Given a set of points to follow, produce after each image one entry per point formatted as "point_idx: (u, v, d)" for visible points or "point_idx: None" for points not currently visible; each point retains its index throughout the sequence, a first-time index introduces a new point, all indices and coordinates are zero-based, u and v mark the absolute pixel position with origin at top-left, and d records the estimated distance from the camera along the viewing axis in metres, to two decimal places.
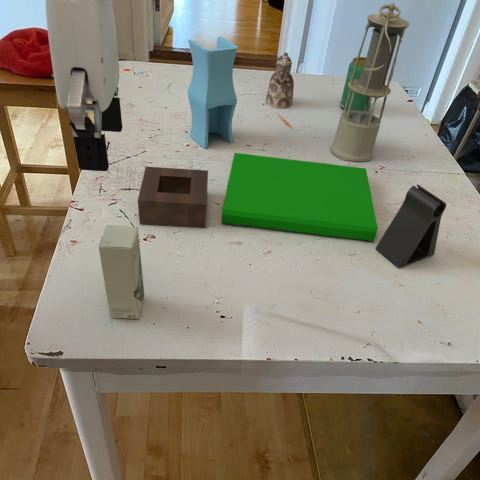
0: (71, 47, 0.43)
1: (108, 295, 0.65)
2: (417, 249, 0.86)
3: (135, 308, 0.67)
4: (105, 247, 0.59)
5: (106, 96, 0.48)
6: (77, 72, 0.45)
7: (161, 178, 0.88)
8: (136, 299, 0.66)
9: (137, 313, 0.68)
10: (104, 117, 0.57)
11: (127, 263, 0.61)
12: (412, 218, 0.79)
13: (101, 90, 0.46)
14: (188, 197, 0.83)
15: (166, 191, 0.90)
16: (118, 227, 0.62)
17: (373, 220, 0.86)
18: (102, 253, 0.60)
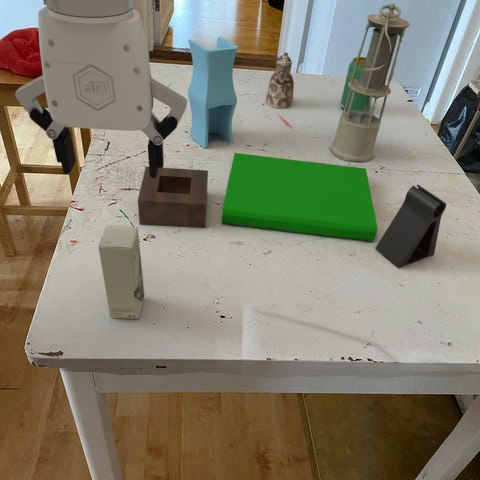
0: (147, 59, 0.46)
1: (108, 295, 0.65)
2: (417, 249, 0.86)
3: (135, 308, 0.67)
4: (105, 247, 0.59)
5: None
6: (151, 80, 0.47)
7: (161, 178, 0.88)
8: (136, 299, 0.66)
9: (137, 313, 0.68)
10: (69, 154, 0.53)
11: (127, 263, 0.61)
12: (412, 218, 0.79)
13: None
14: (188, 197, 0.83)
15: (166, 191, 0.90)
16: (118, 227, 0.62)
17: (373, 220, 0.86)
18: (102, 253, 0.60)
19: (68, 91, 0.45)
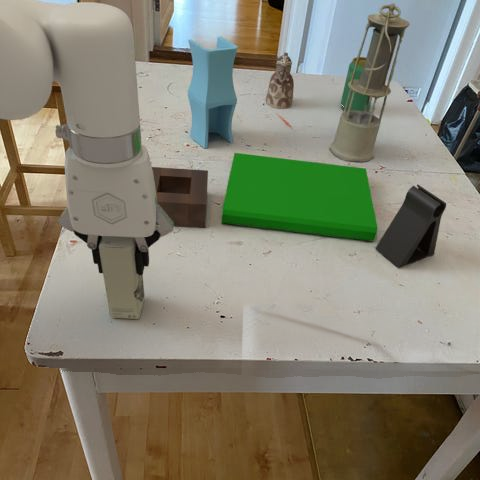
0: (153, 184, 0.55)
1: (108, 295, 0.65)
2: (417, 249, 0.86)
3: (135, 308, 0.67)
4: (105, 247, 0.59)
5: None
6: None
7: (161, 178, 0.88)
8: (136, 299, 0.66)
9: (137, 313, 0.68)
10: None
11: (127, 263, 0.61)
12: (412, 218, 0.79)
13: None
14: (188, 197, 0.83)
15: (166, 191, 0.90)
16: None
17: (373, 220, 0.86)
18: (102, 253, 0.60)
19: (87, 210, 0.55)
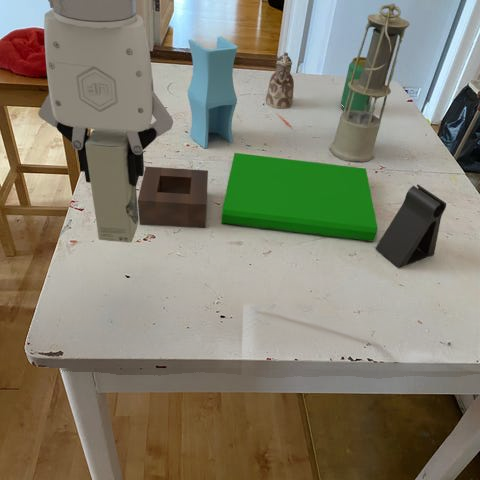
0: (149, 63, 0.47)
1: (96, 210, 0.57)
2: (417, 249, 0.86)
3: (127, 228, 0.59)
4: (93, 146, 0.51)
5: None
6: None
7: (161, 178, 0.88)
8: (128, 216, 0.57)
9: (129, 235, 0.59)
10: None
11: (118, 167, 0.53)
12: (412, 218, 0.79)
13: None
14: (188, 197, 0.83)
15: (166, 191, 0.90)
16: None
17: (373, 220, 0.86)
18: (89, 153, 0.52)
19: (71, 92, 0.47)
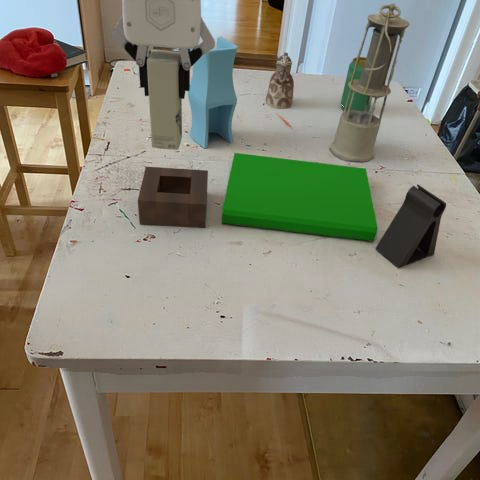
0: None
1: (152, 120, 0.71)
2: (417, 249, 0.86)
3: (175, 136, 0.73)
4: (153, 61, 0.65)
5: None
6: None
7: (161, 178, 0.88)
8: (177, 125, 0.71)
9: (177, 142, 0.73)
10: None
11: (172, 80, 0.67)
12: (412, 218, 0.79)
13: None
14: (188, 197, 0.83)
15: (166, 191, 0.90)
16: (163, 51, 0.68)
17: (373, 220, 0.86)
18: (150, 68, 0.66)
19: (140, 14, 0.61)
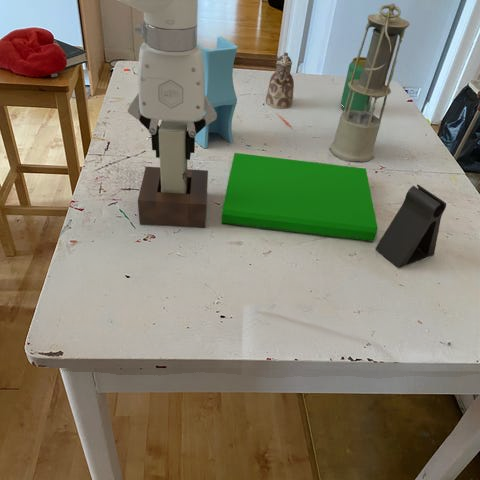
0: None
1: (162, 177, 0.82)
2: (417, 249, 0.86)
3: (182, 190, 0.84)
4: (164, 131, 0.76)
5: None
6: None
7: None
8: (184, 181, 0.83)
9: None
10: None
11: (179, 146, 0.78)
12: (412, 218, 0.79)
13: None
14: (188, 197, 0.83)
15: None
16: None
17: (373, 220, 0.86)
18: (161, 136, 0.77)
19: (154, 96, 0.72)
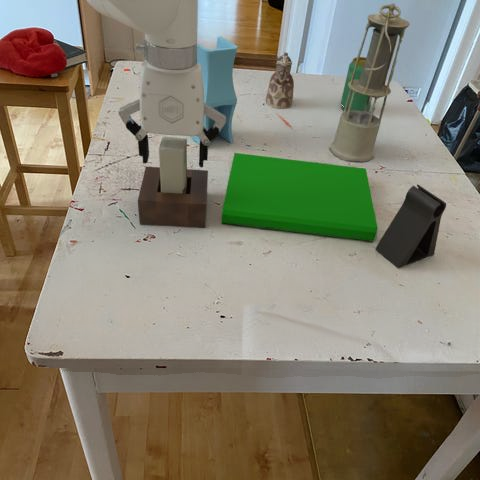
0: None
1: None
2: (417, 249, 0.86)
3: None
4: (164, 150, 0.78)
5: None
6: (205, 105, 0.76)
7: None
8: None
9: None
10: (147, 151, 0.81)
11: (179, 164, 0.80)
12: (412, 218, 0.79)
13: None
14: (188, 197, 0.83)
15: None
16: (172, 138, 0.81)
17: (373, 220, 0.86)
18: (161, 155, 0.79)
19: (154, 111, 0.73)
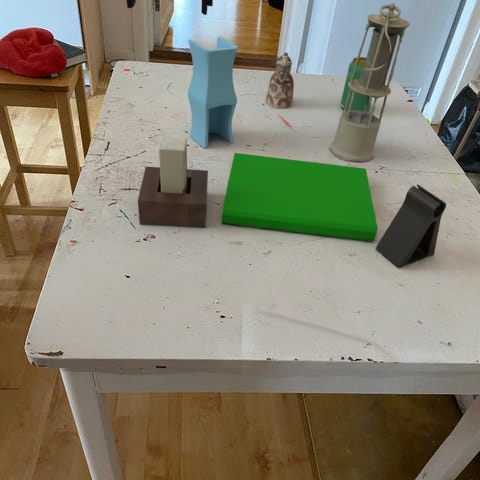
0: None
1: None
2: (417, 249, 0.86)
3: None
4: (164, 150, 0.78)
5: None
6: None
7: None
8: None
9: None
10: None
11: (179, 164, 0.80)
12: (412, 218, 0.79)
13: None
14: (188, 197, 0.83)
15: None
16: (172, 138, 0.81)
17: (373, 220, 0.86)
18: (161, 155, 0.79)
19: None
